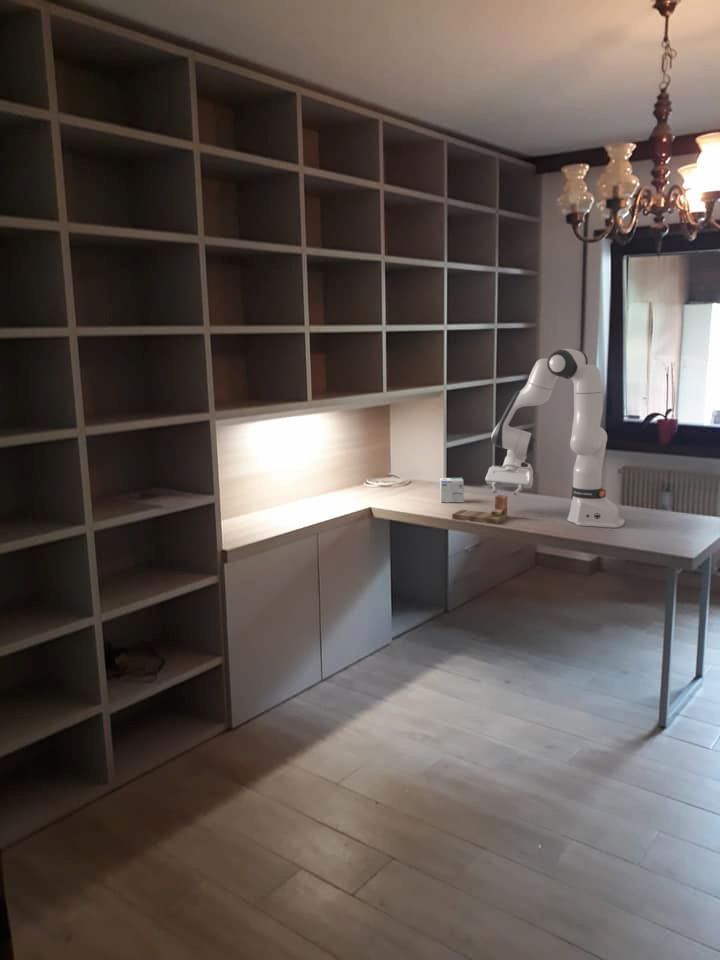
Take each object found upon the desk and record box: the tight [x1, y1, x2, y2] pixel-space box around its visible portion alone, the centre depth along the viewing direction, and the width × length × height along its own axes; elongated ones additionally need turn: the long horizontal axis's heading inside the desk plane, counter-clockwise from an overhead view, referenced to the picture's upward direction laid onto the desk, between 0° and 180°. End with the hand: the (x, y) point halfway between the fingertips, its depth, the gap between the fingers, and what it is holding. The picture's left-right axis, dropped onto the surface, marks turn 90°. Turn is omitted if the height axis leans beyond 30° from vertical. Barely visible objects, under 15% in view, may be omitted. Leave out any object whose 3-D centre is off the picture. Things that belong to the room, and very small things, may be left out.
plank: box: [451, 509, 507, 525], centre depth 326 cm, size 20×10×2 cm, turn 61°
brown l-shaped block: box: [490, 494, 508, 516], centre depth 326 cm, size 4×10×9 cm, turn 151°
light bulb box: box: [439, 477, 465, 504], centre depth 358 cm, size 11×7×11 cm, turn 89°
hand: (504, 493), depth 332 cm, fingers open, 8 cm apart
